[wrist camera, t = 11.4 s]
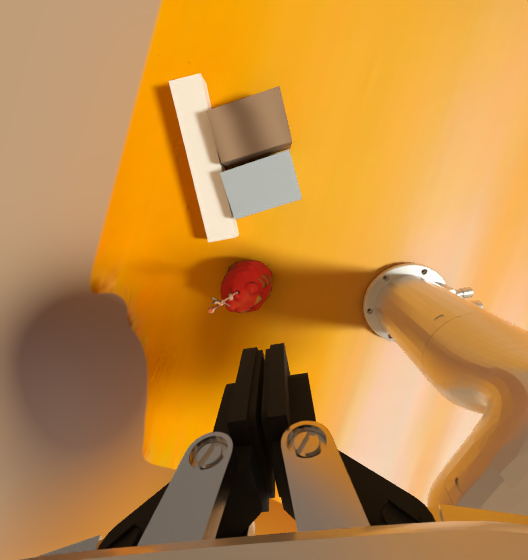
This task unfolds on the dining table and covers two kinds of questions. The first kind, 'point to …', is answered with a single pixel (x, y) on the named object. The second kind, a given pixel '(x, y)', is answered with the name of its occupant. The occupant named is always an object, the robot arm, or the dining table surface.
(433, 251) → the dining table surface
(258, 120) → the walnut block
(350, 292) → the dining table surface
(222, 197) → the stop rail
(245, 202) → the slate block
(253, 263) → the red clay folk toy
